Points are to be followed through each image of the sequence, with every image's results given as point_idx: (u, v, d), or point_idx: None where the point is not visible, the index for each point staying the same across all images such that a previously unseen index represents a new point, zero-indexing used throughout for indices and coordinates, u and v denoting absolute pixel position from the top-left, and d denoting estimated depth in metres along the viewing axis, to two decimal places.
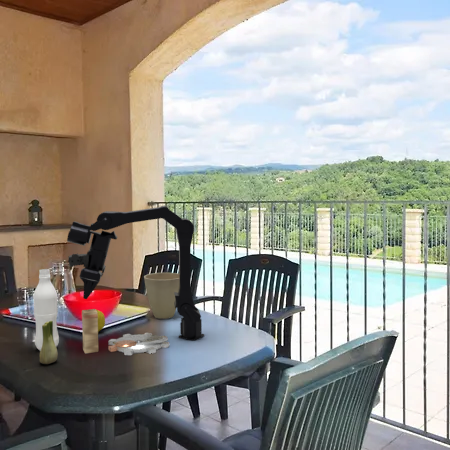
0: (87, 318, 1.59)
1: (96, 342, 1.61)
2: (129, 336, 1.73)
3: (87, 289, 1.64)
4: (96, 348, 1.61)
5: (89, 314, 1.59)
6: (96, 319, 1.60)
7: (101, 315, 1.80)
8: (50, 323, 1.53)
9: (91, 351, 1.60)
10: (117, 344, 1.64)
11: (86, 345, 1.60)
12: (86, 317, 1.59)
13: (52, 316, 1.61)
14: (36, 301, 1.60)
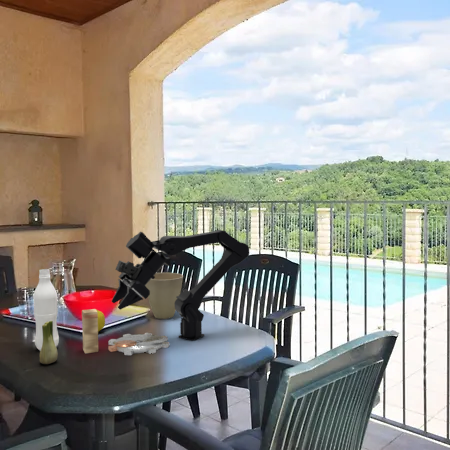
0: (87, 318, 1.59)
1: (96, 342, 1.61)
2: (129, 336, 1.73)
3: (127, 301, 1.60)
4: (96, 348, 1.61)
5: (89, 314, 1.59)
6: (96, 319, 1.60)
7: (101, 315, 1.80)
8: (50, 323, 1.53)
9: (91, 351, 1.60)
10: (117, 344, 1.64)
11: (86, 345, 1.60)
12: (86, 317, 1.59)
13: (52, 316, 1.61)
14: (36, 301, 1.60)
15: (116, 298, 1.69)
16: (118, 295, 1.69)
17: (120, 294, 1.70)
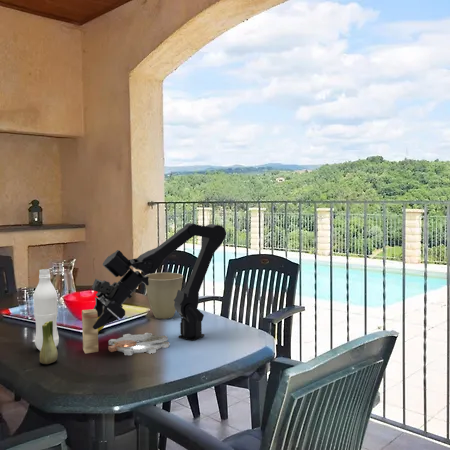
0: (87, 318, 1.59)
1: (96, 342, 1.61)
2: (129, 336, 1.73)
3: (102, 320, 1.57)
4: (96, 348, 1.61)
5: (89, 314, 1.59)
6: (96, 319, 1.60)
7: None
8: (50, 323, 1.53)
9: (91, 351, 1.60)
10: (117, 344, 1.64)
11: (86, 345, 1.60)
12: (86, 317, 1.59)
13: (52, 316, 1.61)
14: (35, 301, 1.60)
15: None
16: None
17: None
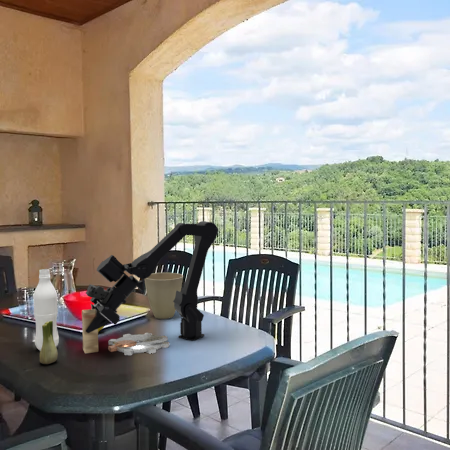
0: (87, 318, 1.59)
1: (96, 342, 1.61)
2: (129, 336, 1.73)
3: (95, 324, 1.59)
4: (96, 348, 1.61)
5: (89, 314, 1.59)
6: None
7: None
8: (50, 323, 1.53)
9: (91, 351, 1.60)
10: (117, 344, 1.64)
11: (86, 345, 1.60)
12: (86, 317, 1.59)
13: (52, 316, 1.61)
14: (35, 301, 1.60)
15: None
16: None
17: None
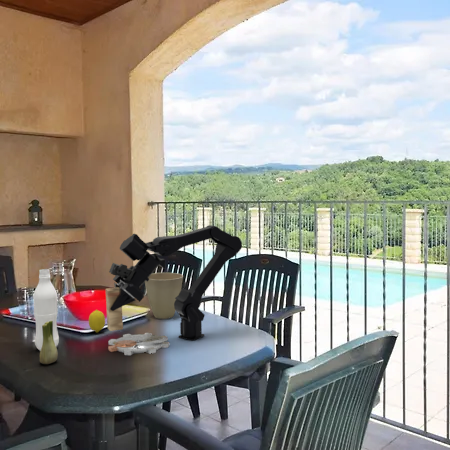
0: (111, 296, 1.61)
1: (120, 320, 1.62)
2: (129, 336, 1.73)
3: (119, 302, 1.60)
4: (121, 326, 1.62)
5: (113, 292, 1.61)
6: None
7: (101, 315, 1.80)
8: (50, 323, 1.53)
9: (116, 329, 1.62)
10: (117, 344, 1.64)
11: (111, 323, 1.61)
12: (110, 295, 1.60)
13: (52, 316, 1.61)
14: (35, 301, 1.60)
15: None
16: None
17: None
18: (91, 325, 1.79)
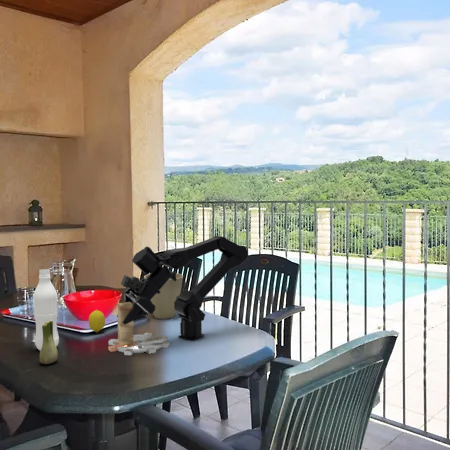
0: (123, 311, 1.62)
1: (131, 335, 1.63)
2: None
3: (132, 315, 1.60)
4: (131, 340, 1.63)
5: (125, 307, 1.62)
6: None
7: (101, 315, 1.80)
8: (50, 323, 1.53)
9: (126, 343, 1.63)
10: (117, 344, 1.64)
11: (122, 337, 1.62)
12: (122, 310, 1.62)
13: (52, 316, 1.61)
14: (36, 301, 1.60)
15: None
16: None
17: None
18: (91, 325, 1.79)
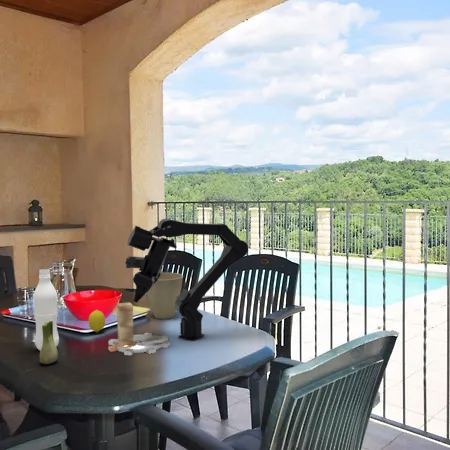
0: (123, 312, 1.62)
1: (131, 335, 1.63)
2: None
3: (138, 293, 1.66)
4: (131, 341, 1.63)
5: (125, 307, 1.62)
6: (131, 312, 1.63)
7: (101, 315, 1.80)
8: (50, 323, 1.53)
9: (126, 344, 1.63)
10: (117, 344, 1.64)
11: (122, 338, 1.62)
12: (122, 310, 1.61)
13: (52, 316, 1.61)
14: (35, 301, 1.60)
15: None
16: None
17: None
18: (91, 325, 1.79)
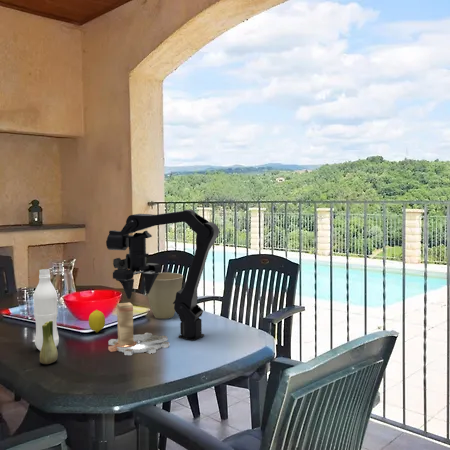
0: (123, 312, 1.62)
1: (131, 335, 1.63)
2: None
3: (126, 289, 1.75)
4: (131, 341, 1.63)
5: (125, 307, 1.62)
6: (131, 312, 1.63)
7: (101, 315, 1.80)
8: (50, 323, 1.53)
9: (126, 344, 1.63)
10: (117, 344, 1.64)
11: (122, 338, 1.62)
12: (122, 310, 1.61)
13: (52, 316, 1.61)
14: (36, 301, 1.60)
15: (147, 289, 1.83)
16: (147, 285, 1.83)
17: (147, 283, 1.83)
18: (91, 325, 1.79)
